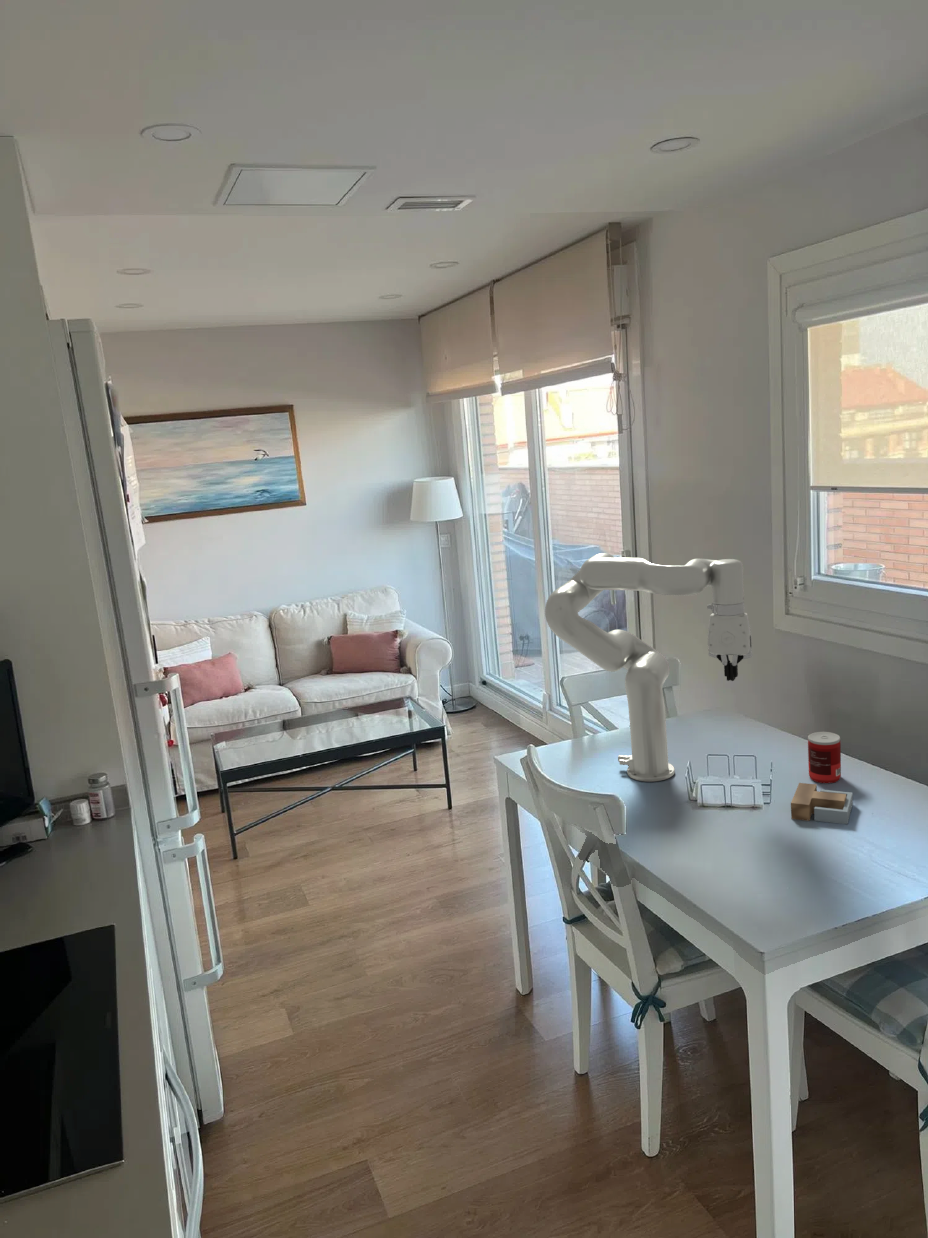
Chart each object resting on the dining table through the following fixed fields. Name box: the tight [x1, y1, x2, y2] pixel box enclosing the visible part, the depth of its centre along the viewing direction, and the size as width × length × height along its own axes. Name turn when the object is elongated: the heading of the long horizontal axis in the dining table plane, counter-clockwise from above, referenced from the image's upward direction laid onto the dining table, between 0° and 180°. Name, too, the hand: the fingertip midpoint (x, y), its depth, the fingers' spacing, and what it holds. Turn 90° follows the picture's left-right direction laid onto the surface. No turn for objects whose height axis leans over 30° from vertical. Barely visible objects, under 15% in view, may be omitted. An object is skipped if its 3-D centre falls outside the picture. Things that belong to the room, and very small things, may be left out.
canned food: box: [807, 731, 842, 784], centre depth 227 cm, size 8×8×11 cm
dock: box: [813, 789, 854, 825], centre depth 209 cm, size 7×11×3 cm, turn 151°
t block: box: [790, 782, 846, 822], centre depth 210 cm, size 11×12×4 cm
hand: (731, 679), depth 227 cm, fingers closed
